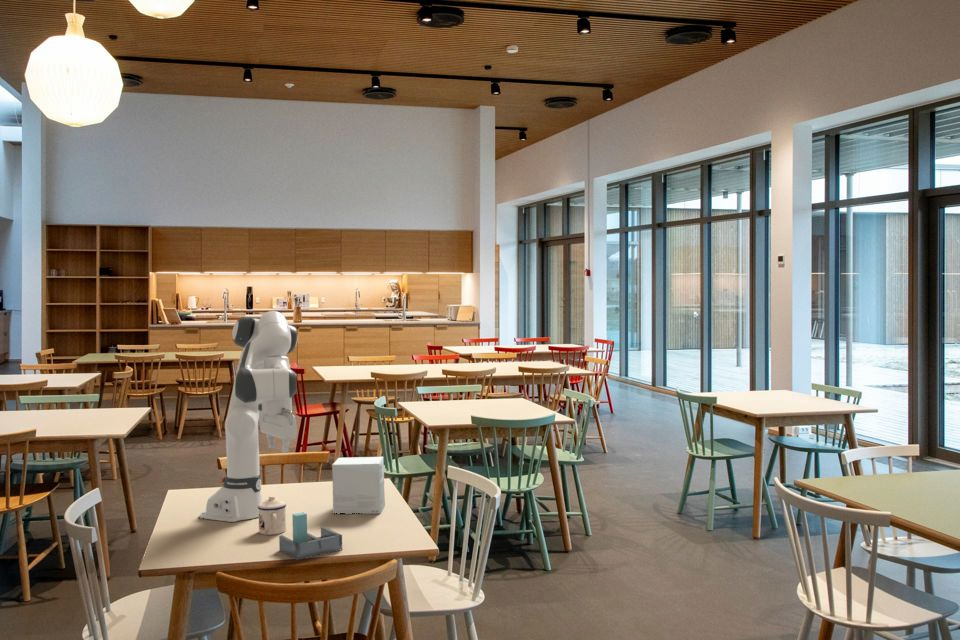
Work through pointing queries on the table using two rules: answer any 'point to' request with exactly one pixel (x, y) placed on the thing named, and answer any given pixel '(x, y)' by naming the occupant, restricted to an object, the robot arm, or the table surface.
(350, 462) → the supplement box
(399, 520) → the table surface
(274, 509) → the teacup with lid
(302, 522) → the teal rectangular block
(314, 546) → the rack
